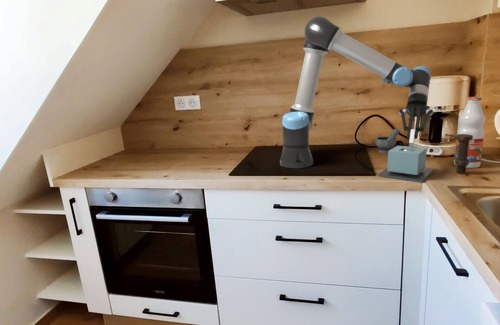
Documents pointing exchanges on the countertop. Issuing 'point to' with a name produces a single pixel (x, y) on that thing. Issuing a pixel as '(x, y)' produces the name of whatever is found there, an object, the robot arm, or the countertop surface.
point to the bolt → (462, 153)
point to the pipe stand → (409, 177)
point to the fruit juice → (472, 131)
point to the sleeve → (406, 160)
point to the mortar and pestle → (386, 142)
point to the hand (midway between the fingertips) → (411, 144)
